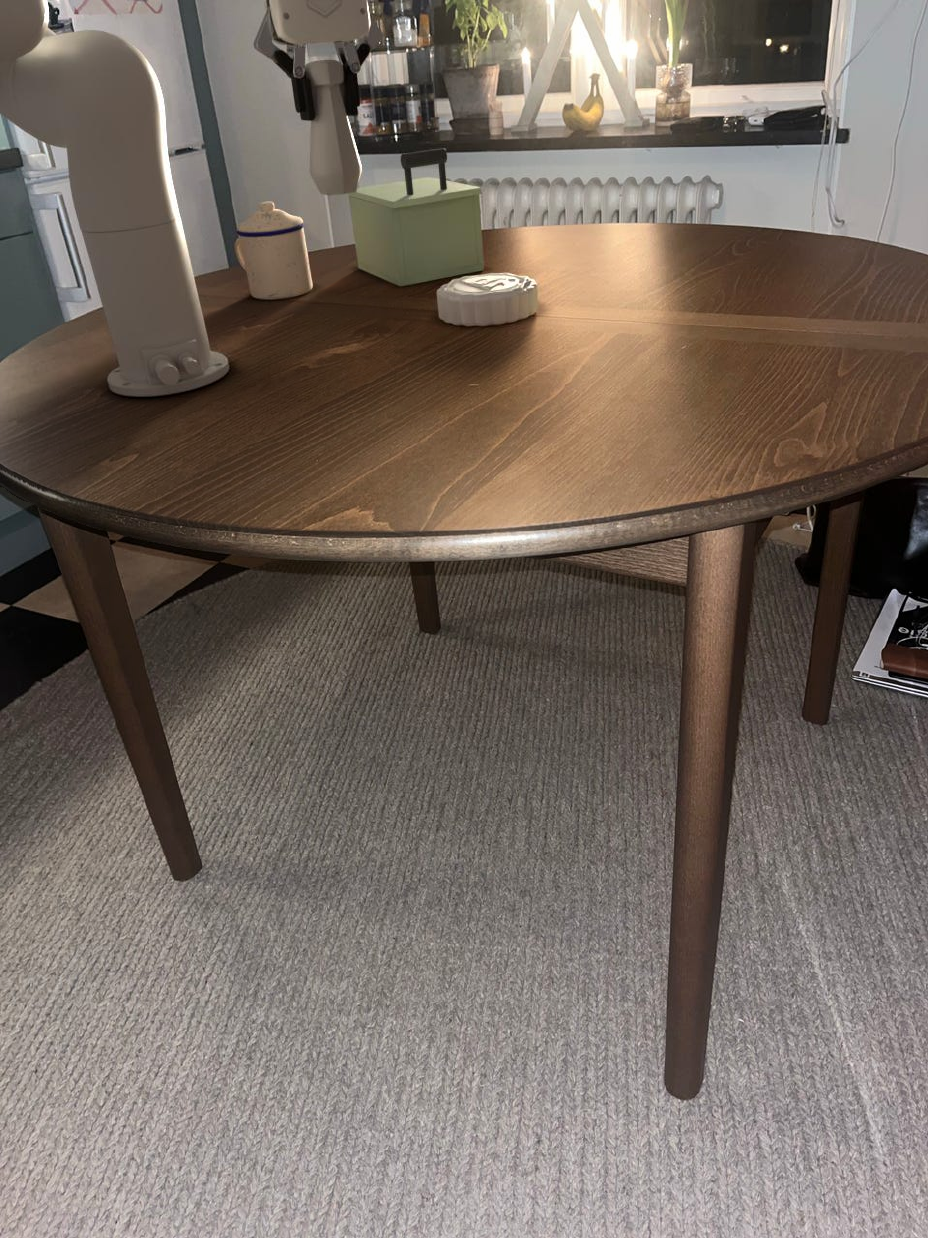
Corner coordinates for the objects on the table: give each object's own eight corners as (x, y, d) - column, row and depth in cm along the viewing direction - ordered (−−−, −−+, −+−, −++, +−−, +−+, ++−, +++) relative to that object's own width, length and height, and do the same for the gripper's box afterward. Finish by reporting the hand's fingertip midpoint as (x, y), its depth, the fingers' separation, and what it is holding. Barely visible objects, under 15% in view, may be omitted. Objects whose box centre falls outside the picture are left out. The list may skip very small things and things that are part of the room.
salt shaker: (305, 197, 106) (285, 63, 99) (325, 189, 110) (308, 60, 104) (352, 195, 104) (336, 59, 97) (372, 187, 109) (357, 56, 102)
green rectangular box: (484, 269, 132) (479, 193, 127) (400, 286, 128) (391, 207, 123) (436, 253, 145) (429, 182, 140) (358, 268, 140) (348, 195, 135)
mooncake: (557, 312, 110) (557, 280, 108) (469, 333, 106) (467, 300, 104) (504, 294, 119) (502, 265, 118) (421, 313, 115) (417, 283, 113)
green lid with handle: (482, 193, 127) (479, 145, 123) (393, 208, 122) (388, 159, 119) (429, 182, 140) (426, 138, 136) (348, 195, 135) (342, 150, 132)
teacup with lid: (328, 286, 132) (314, 196, 125) (283, 302, 126) (266, 209, 119) (267, 281, 138) (251, 195, 132) (221, 296, 132) (202, 207, 126)
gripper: (230, -93, 88) (265, 126, 97) (395, -97, 94) (412, 110, 103) (211, -82, 94) (246, 124, 103) (367, -87, 100) (386, 109, 109)
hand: (329, 115), depth 103 cm, fingers closed on salt shaker, 4 cm apart
